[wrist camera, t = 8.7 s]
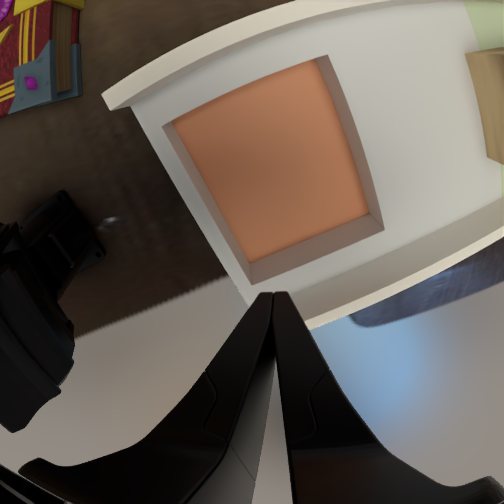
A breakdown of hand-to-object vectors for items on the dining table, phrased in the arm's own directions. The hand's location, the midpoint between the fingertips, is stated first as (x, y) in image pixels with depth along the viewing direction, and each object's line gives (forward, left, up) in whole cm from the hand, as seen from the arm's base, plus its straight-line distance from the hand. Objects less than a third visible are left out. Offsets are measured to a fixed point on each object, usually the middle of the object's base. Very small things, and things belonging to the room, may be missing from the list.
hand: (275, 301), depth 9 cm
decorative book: (-9, +21, -13) cm, 26 cm away
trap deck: (+16, 0, -13) cm, 20 cm away
